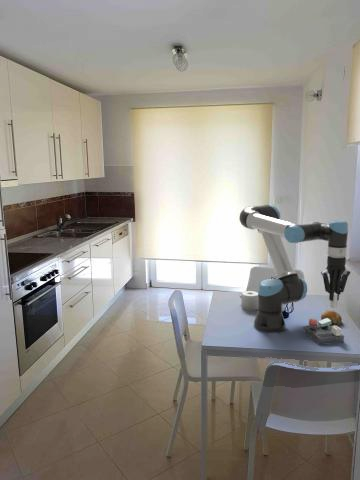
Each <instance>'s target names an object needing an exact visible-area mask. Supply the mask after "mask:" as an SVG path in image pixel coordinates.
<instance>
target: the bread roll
mask: <svg viewBox="0 0 360 480" xmlns="http://www.w3.org/2000/svg"><path fill="white" fill-rule="evenodd" d="M326 318H328V319H329V320H331V322H332V324H330V326H331V327H332V326H334V325H336V326H339V325H341V324H342V322H343V321H342V320H343V319H342V318H343V317H342V316H341V314H340V313H339V312H337V311H335V310H330V309H329V310H326V311H324V312H323V313H322V314H321V316H320V319H321V320H323V319H326Z"/></svg>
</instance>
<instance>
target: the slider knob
mask: <svg viewBox="0 0 360 480" xmlns="http://www.w3.org/2000/svg"><path fill="white" fill-rule="evenodd" d="M331 327H332V333H333V334H334V335H336V336H340V335H341V334H342V329H341V328H340V327H339V325H334V326H331Z"/></svg>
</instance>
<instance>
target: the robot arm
mask: <svg viewBox="0 0 360 480" xmlns="http://www.w3.org/2000/svg"><path fill="white" fill-rule="evenodd" d="M239 222H240V224H241V225H242V226H243V228H246V229H248V230H249V229H250V230H251V231H252V230H257V233H259V234H261V235H262V238H263V241H264V244H265V246H266V249H267V252H268V255H269V257H270V260H271V264H272V266H273V269H274V272H275V274H276V277H275V278H268V279H263V280H262V281H260V282H259V283H258V289H257V292H258V309H257V313H256V316H255V317H254V318H255V319H254V320H253V321H254V324H253V327H254V328H255V329H256V330H258V331H261V332H264V333H280V332H283V331H284V330H285V329H286V321H285V319H284V315H283V305H287V304H291V303H297V302H299V301H303V300H304V299H305V298H306V296H307V293H308V284H307V282H306V281H305V279H303V278H302V277H300V276H299V275H298V272H296V271H294V270H293V267H292V264H291V261H290V259H289V257H288V253H287V251H286V248H285V245H284V242H283V241H282V238H284V239H285V240H286V241H287V242H288V243H291V244H294V243H295V244H298V243H304V242H310V241H318V240H319V241H321V240H322V241H326V242H327V257H326V258H327V260H326V265H327V266H326V268H325V270H324V271H321V272H320V274H321V276H322V279H323V285H324V291H325V292H326V293H328V294H329V301H330V303H329V304H330V305H329V307H331V308H332V309H337V308H338V301H339V299H340V295H341V293H344V291H345V287H346V285H347V281H348V279H349V276H350V275H351V271H349V270H348V269H346V263H347V262H346V261H347V257H346V256H347V246H348V245H347V243H348V236H349V235H348V234H349V224H348V222H347V221H346V220H339V219H337V220H330V221H329V223H324V222H323V223H322V222H318V221H310V222H309V223H307V224H306V223H305V224H297V223H293V222H290V221H286V220H283V219H281V212H280V211H279V209H278V208H277V207H276V206H274V205H271V204H270V205H269V204H262V205H251V206H247V207H245V208H243V209H242V211H240V214H239Z"/></svg>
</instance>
